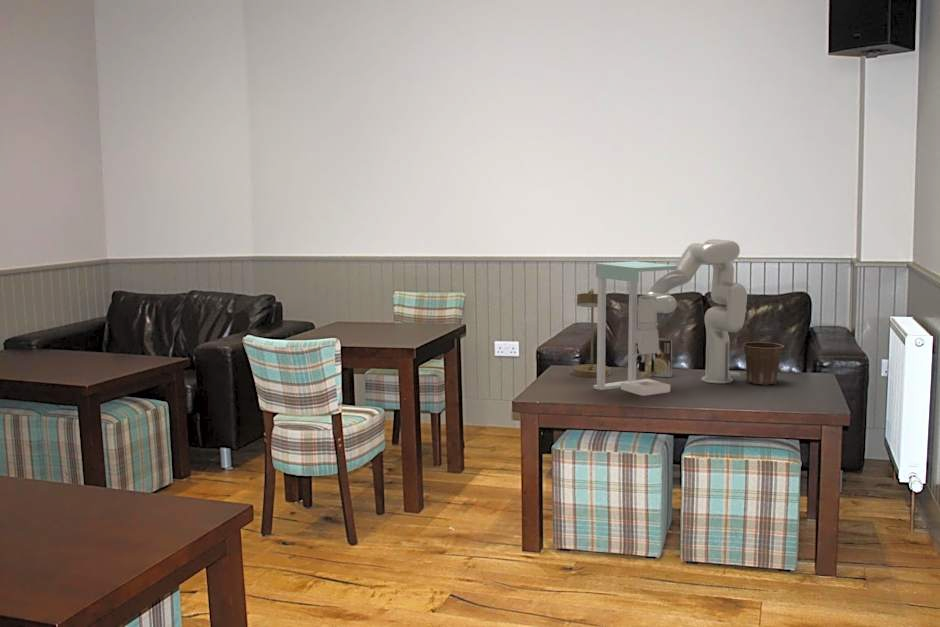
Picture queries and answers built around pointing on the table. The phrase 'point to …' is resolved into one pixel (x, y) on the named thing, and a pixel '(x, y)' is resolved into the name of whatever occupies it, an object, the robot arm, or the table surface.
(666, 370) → the coffee box
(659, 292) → the robot arm
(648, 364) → the dowel
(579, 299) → the lamp
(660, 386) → the socket
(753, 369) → the plant pot
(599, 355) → the green-topped side table
